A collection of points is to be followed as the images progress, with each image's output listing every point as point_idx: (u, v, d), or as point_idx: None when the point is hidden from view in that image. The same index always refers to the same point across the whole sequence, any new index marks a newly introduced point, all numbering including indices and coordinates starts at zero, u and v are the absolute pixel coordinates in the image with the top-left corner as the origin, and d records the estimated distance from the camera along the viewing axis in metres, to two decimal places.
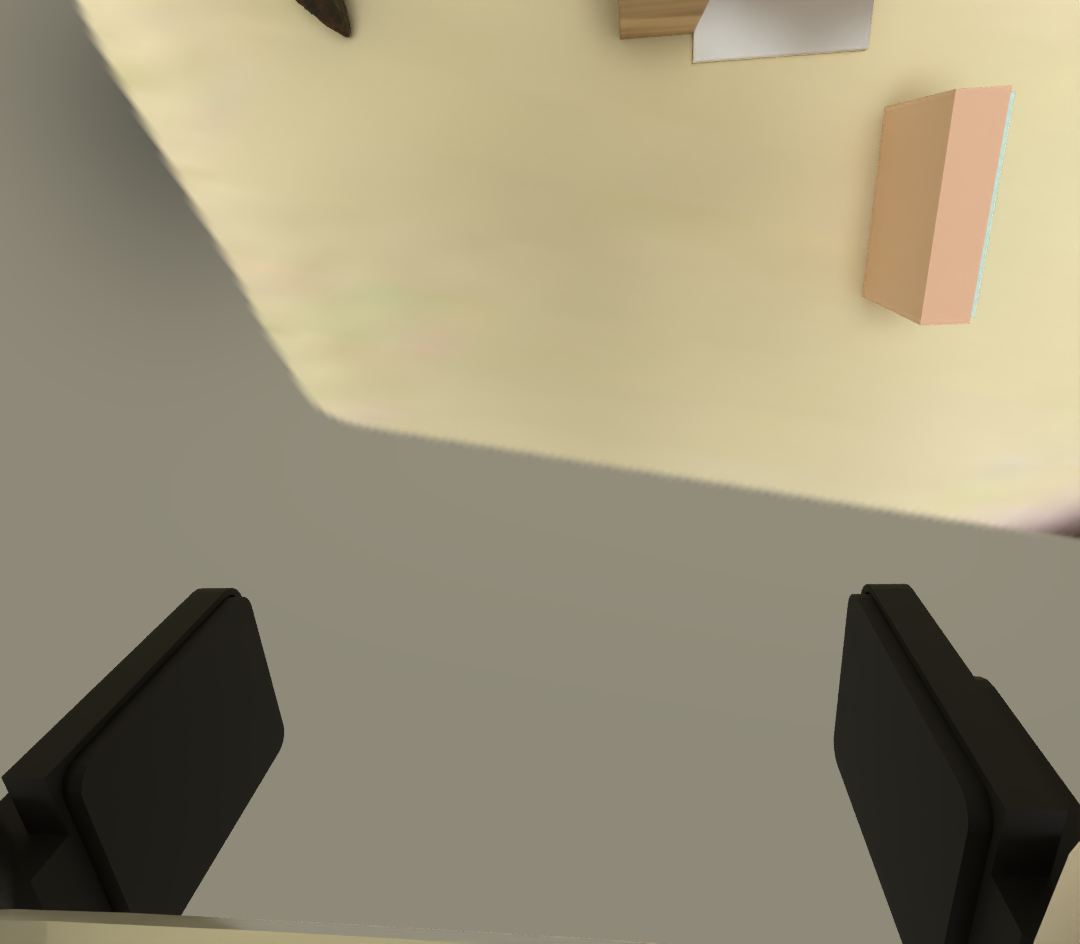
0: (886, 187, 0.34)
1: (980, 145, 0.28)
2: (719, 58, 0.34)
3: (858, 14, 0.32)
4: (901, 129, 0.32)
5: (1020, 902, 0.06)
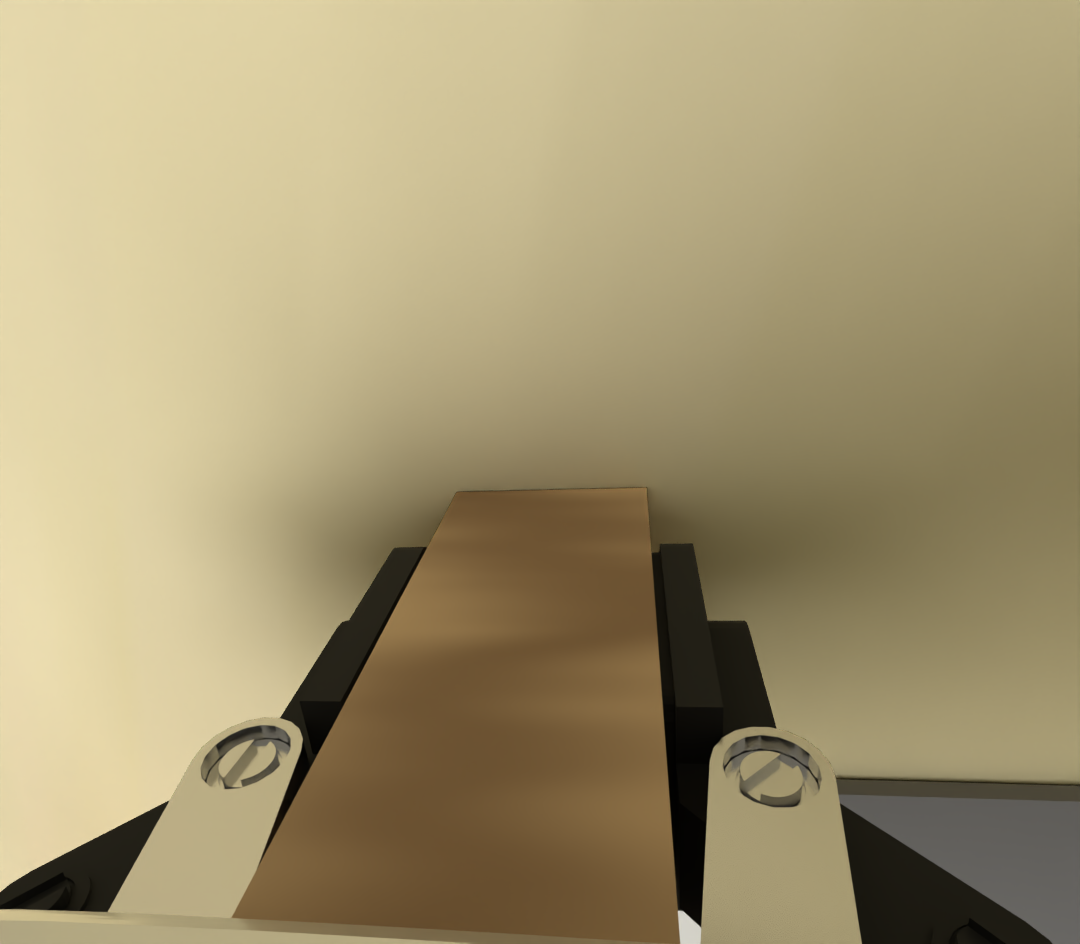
0: None
1: None
2: None
3: None
4: None
5: (690, 782, 0.08)
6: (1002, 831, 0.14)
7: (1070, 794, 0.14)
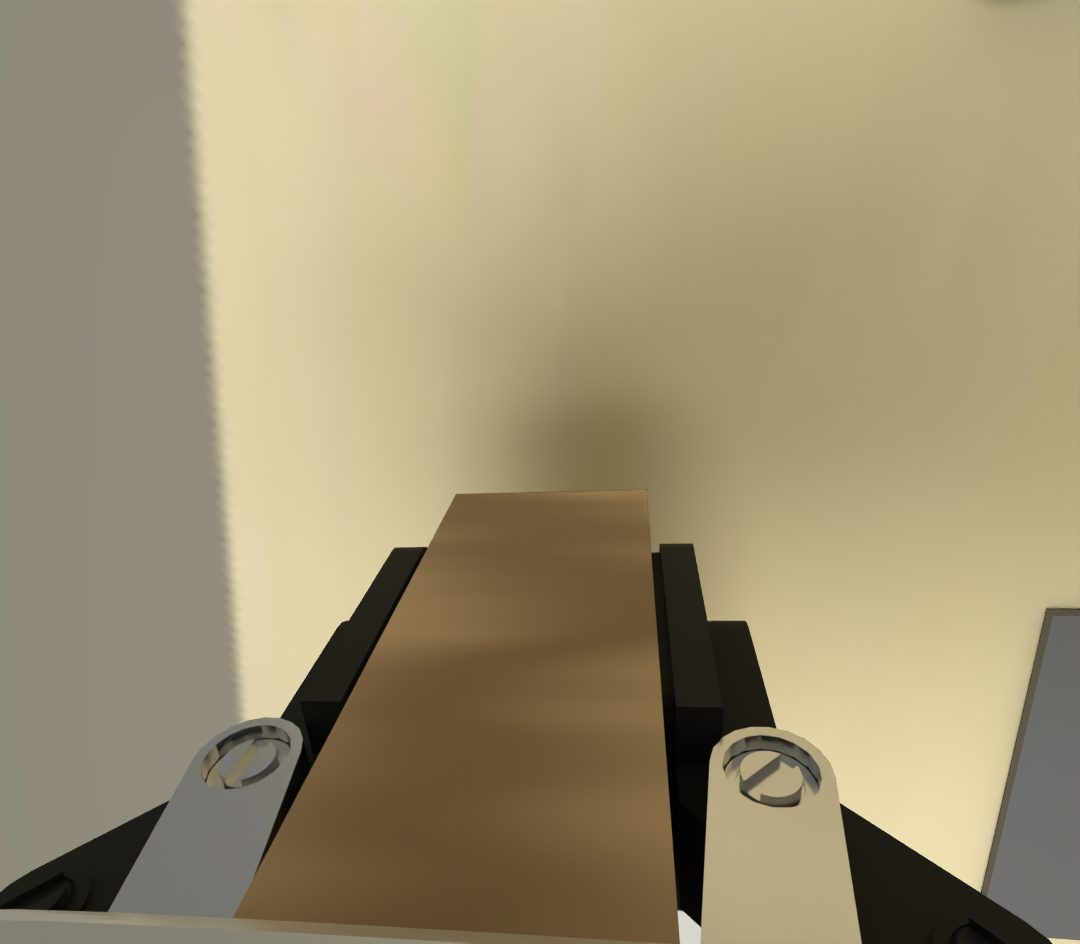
0: None
1: None
2: None
3: None
4: None
5: (690, 782, 0.08)
6: None
7: None
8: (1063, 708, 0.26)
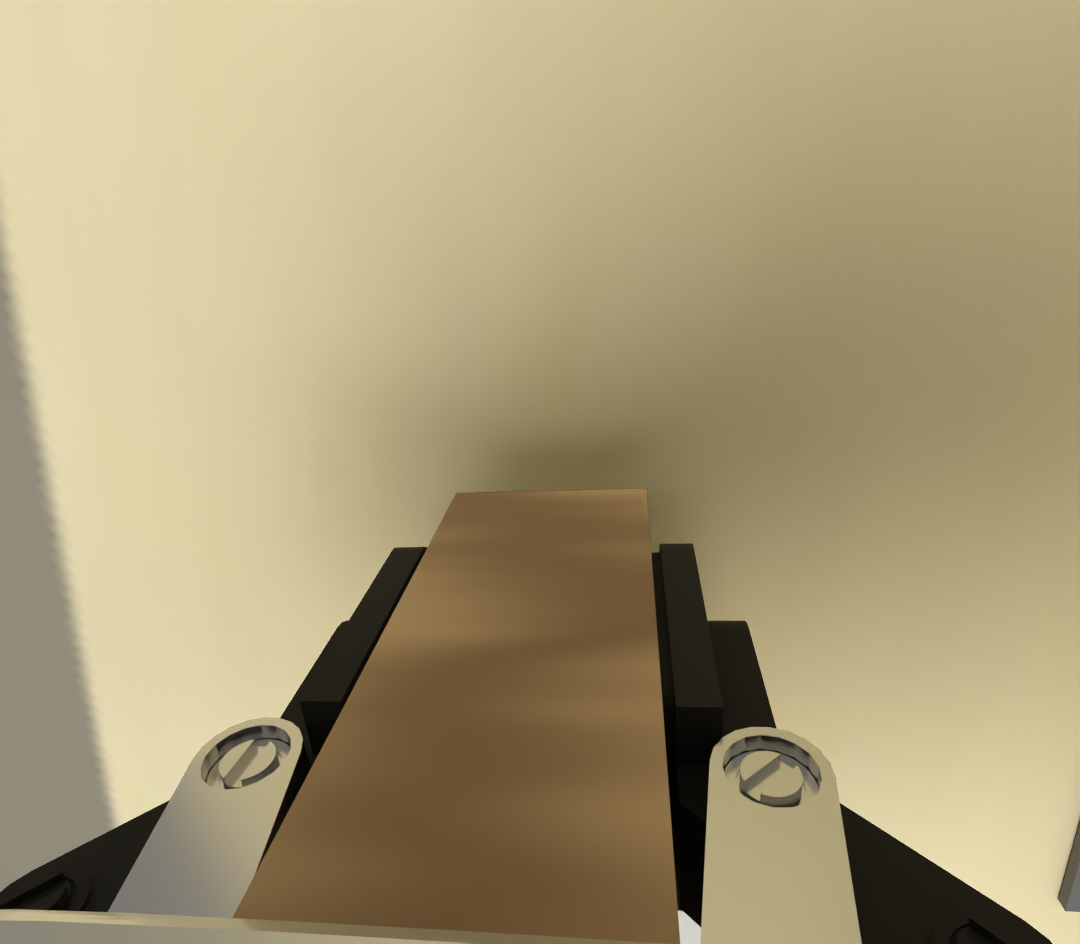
0: None
1: None
2: None
3: None
4: None
5: (689, 782, 0.08)
6: None
7: None
8: None
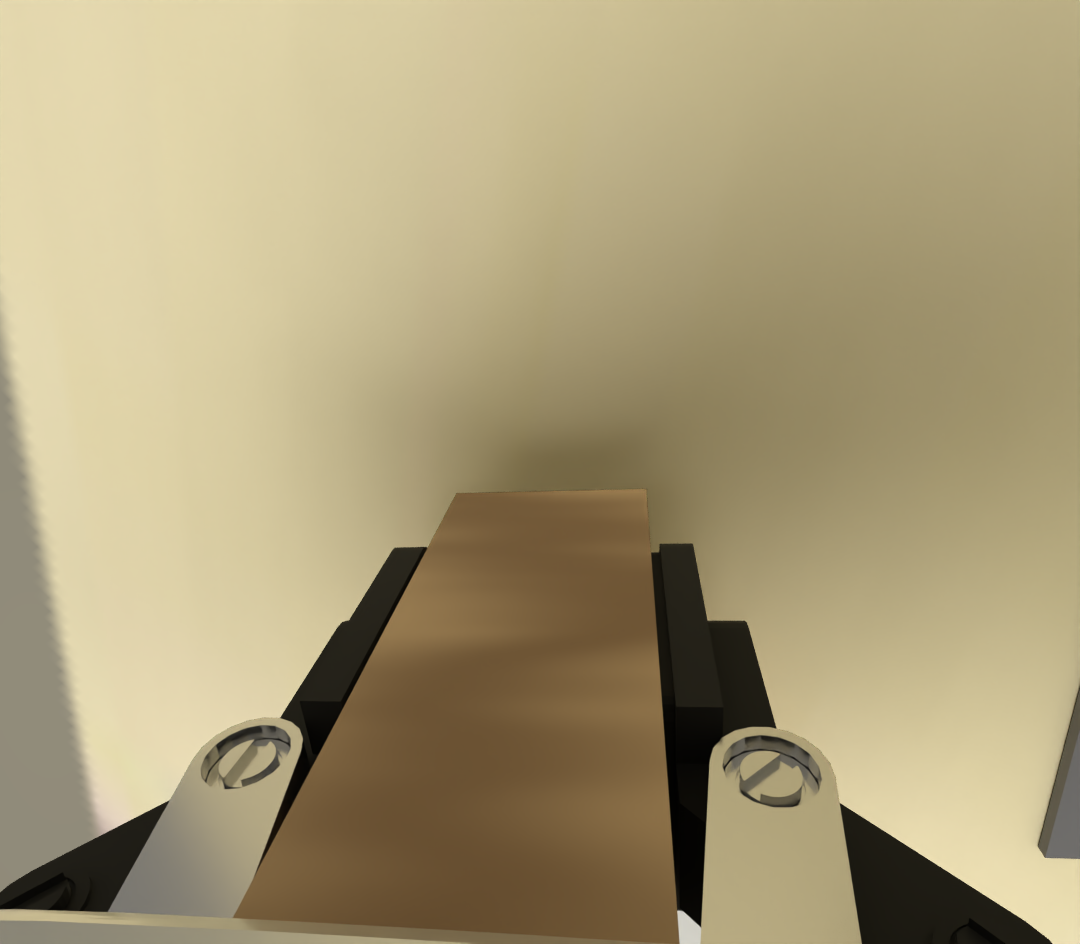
0: None
1: None
2: None
3: None
4: None
5: (689, 782, 0.08)
6: None
7: None
8: None
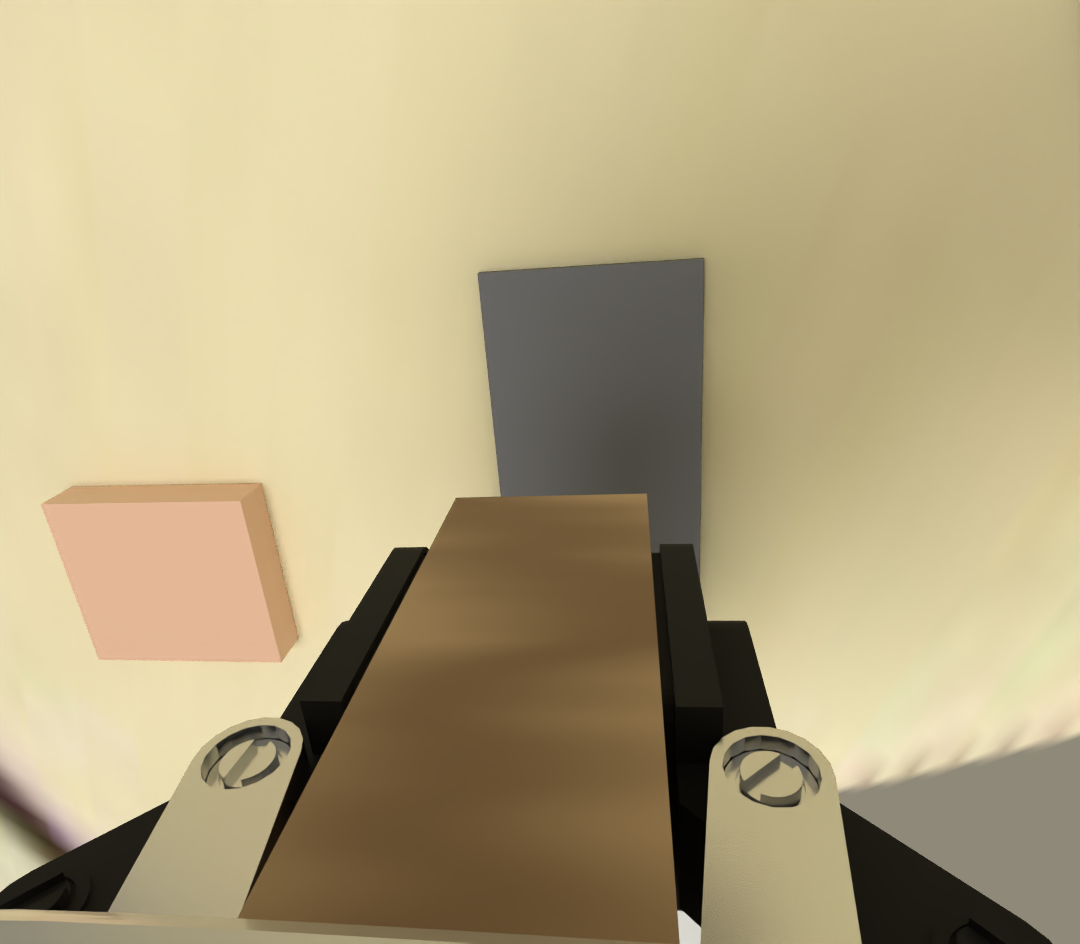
0: (169, 537, 0.30)
1: None
2: None
3: None
4: (230, 560, 0.30)
5: (690, 782, 0.08)
6: (582, 291, 0.25)
7: (614, 264, 0.25)
8: (516, 378, 0.27)
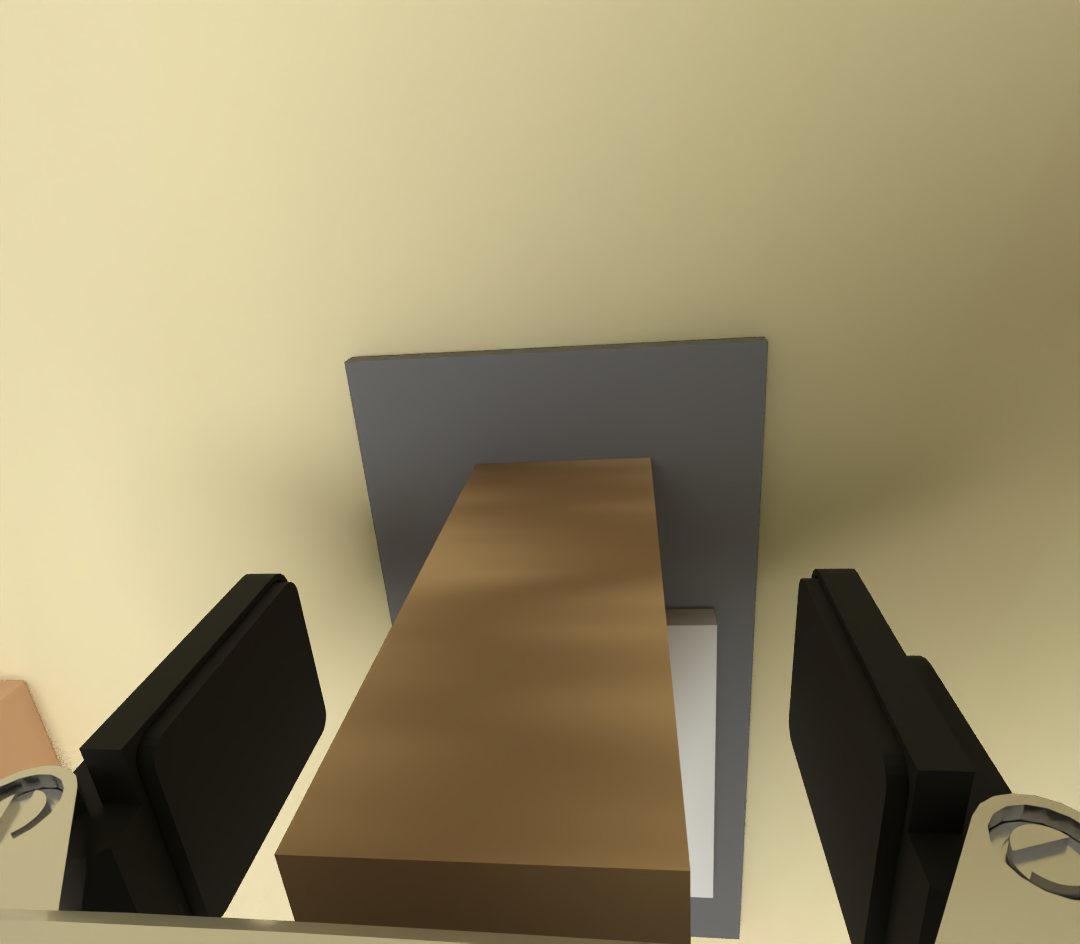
0: None
1: None
2: None
3: None
4: None
5: (931, 857, 0.07)
6: (537, 396, 0.14)
7: (597, 347, 0.13)
8: (424, 540, 0.15)
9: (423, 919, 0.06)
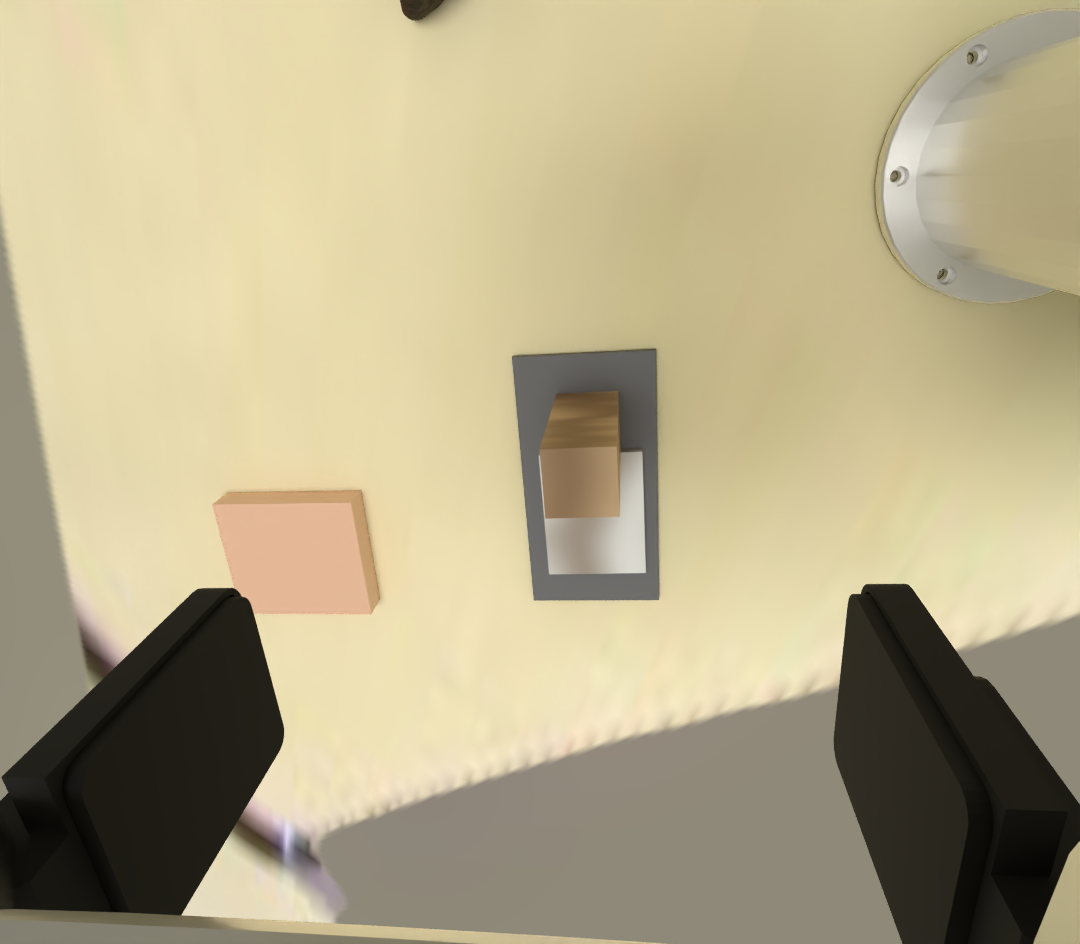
0: (300, 527, 0.44)
1: None
2: (541, 474, 0.42)
3: (570, 565, 0.44)
4: (341, 542, 0.44)
5: (1020, 902, 0.06)
6: (579, 369, 0.40)
7: (599, 352, 0.39)
8: (536, 423, 0.41)
9: (566, 463, 0.32)
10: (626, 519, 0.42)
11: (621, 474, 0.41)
